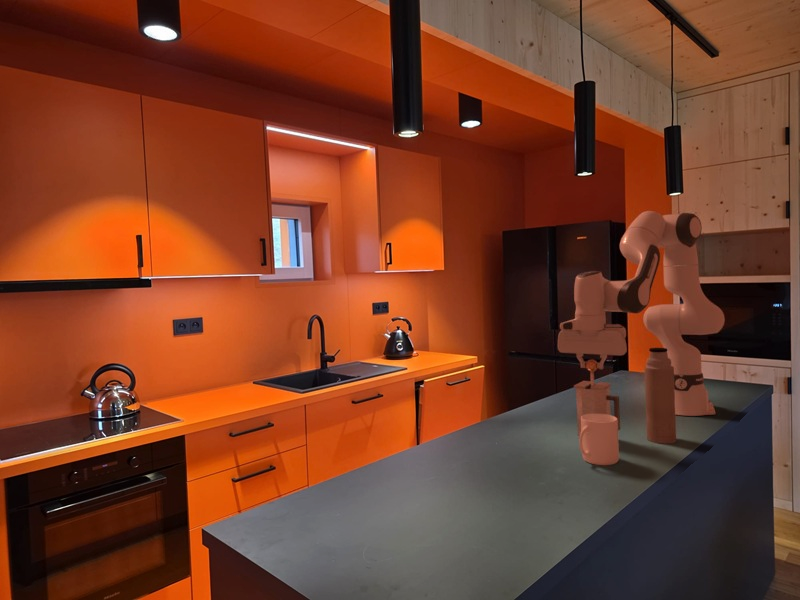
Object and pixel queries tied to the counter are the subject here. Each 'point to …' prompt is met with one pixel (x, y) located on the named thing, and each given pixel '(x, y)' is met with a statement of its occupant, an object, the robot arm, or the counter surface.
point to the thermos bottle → (660, 397)
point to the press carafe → (595, 401)
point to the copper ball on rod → (591, 369)
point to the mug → (599, 439)
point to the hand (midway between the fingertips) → (591, 368)
